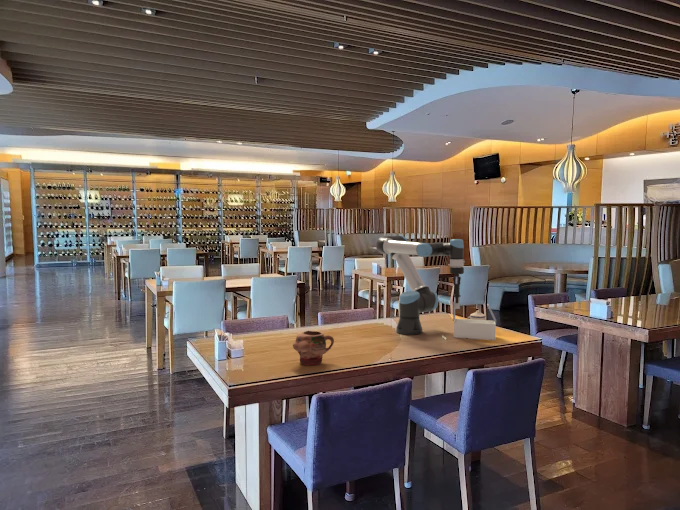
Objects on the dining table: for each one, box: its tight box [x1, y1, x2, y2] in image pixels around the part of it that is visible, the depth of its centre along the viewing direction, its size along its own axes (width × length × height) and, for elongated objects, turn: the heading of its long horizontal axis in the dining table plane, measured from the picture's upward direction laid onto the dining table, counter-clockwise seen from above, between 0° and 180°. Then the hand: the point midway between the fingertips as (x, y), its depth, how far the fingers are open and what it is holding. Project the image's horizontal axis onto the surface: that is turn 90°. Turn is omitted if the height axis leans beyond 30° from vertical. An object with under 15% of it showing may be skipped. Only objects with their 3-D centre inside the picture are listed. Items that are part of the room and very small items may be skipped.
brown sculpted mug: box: [292, 330, 335, 366], centre depth 220 cm, size 20×12×14 cm, turn 121°
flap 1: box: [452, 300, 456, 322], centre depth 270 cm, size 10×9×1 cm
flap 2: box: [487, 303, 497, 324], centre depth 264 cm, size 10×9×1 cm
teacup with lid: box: [466, 310, 487, 320], centre depth 287 cm, size 12×9×12 cm
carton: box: [453, 318, 497, 341], centre depth 267 cm, size 22×9×9 cm, turn 73°
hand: (457, 308), depth 270 cm, fingers closed
